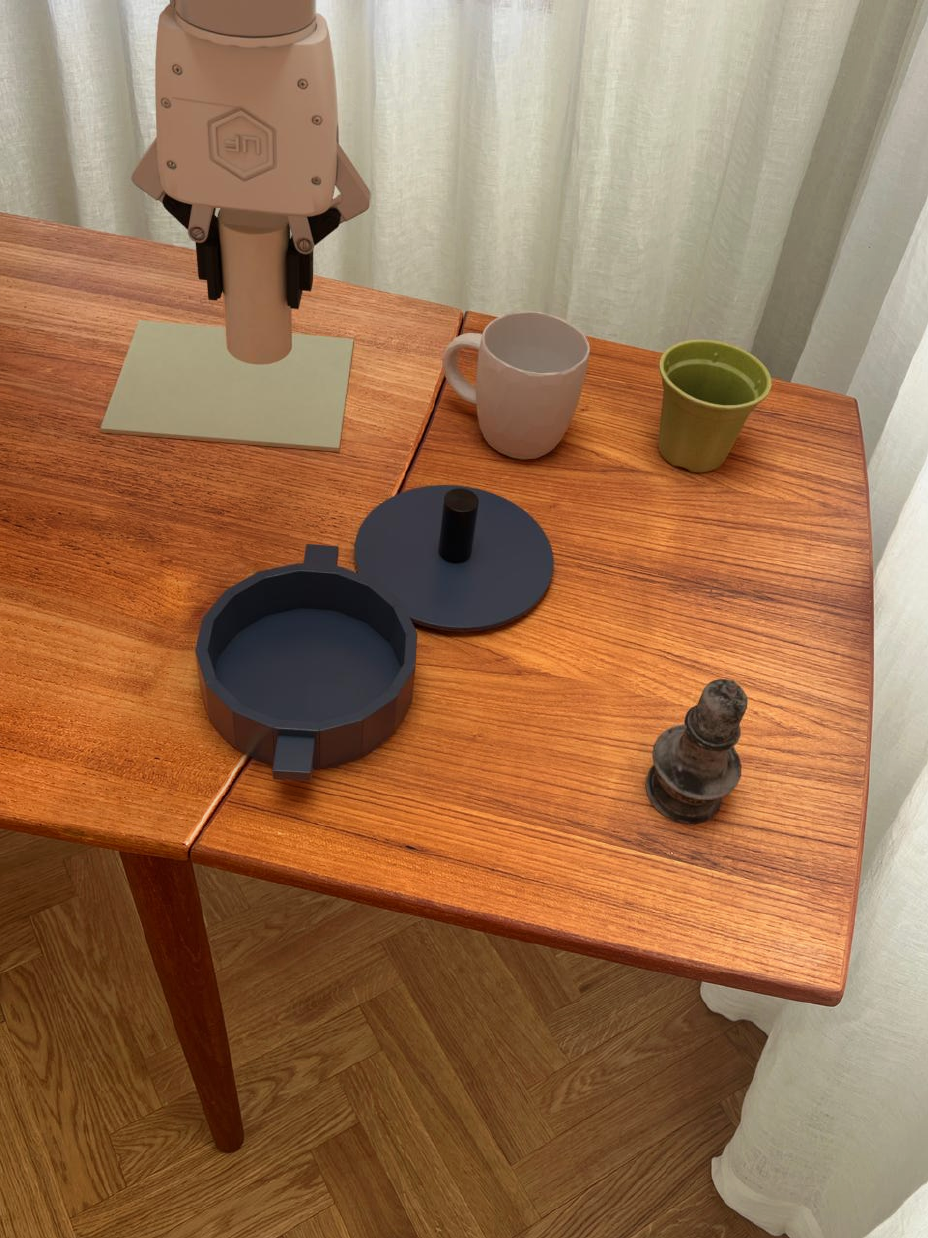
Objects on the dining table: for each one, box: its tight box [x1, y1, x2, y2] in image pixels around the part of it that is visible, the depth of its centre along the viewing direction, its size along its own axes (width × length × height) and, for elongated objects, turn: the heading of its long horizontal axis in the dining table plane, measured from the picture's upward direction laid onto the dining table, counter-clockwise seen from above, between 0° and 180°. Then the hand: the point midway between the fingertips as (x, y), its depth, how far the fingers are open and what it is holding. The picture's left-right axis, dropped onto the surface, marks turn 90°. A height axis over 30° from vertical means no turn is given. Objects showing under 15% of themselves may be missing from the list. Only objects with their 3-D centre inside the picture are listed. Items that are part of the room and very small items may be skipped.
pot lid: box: [353, 484, 555, 633], centre depth 85 cm, size 16×16×7 cm
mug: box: [442, 310, 591, 460], centre depth 95 cm, size 13×9×10 cm
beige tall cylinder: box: [217, 208, 293, 365], centre depth 72 cm, size 4×4×10 cm
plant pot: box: [657, 339, 772, 473], centre depth 96 cm, size 9×9×9 cm
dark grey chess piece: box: [644, 678, 749, 825], centre depth 71 cm, size 6×6×12 cm
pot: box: [194, 543, 418, 782], centre depth 76 cm, size 15×20×4 cm
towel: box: [99, 319, 355, 453], centre depth 99 cm, size 20×16×1 cm
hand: (257, 290), depth 72 cm, fingers closed on beige tall cylinder, 4 cm apart
